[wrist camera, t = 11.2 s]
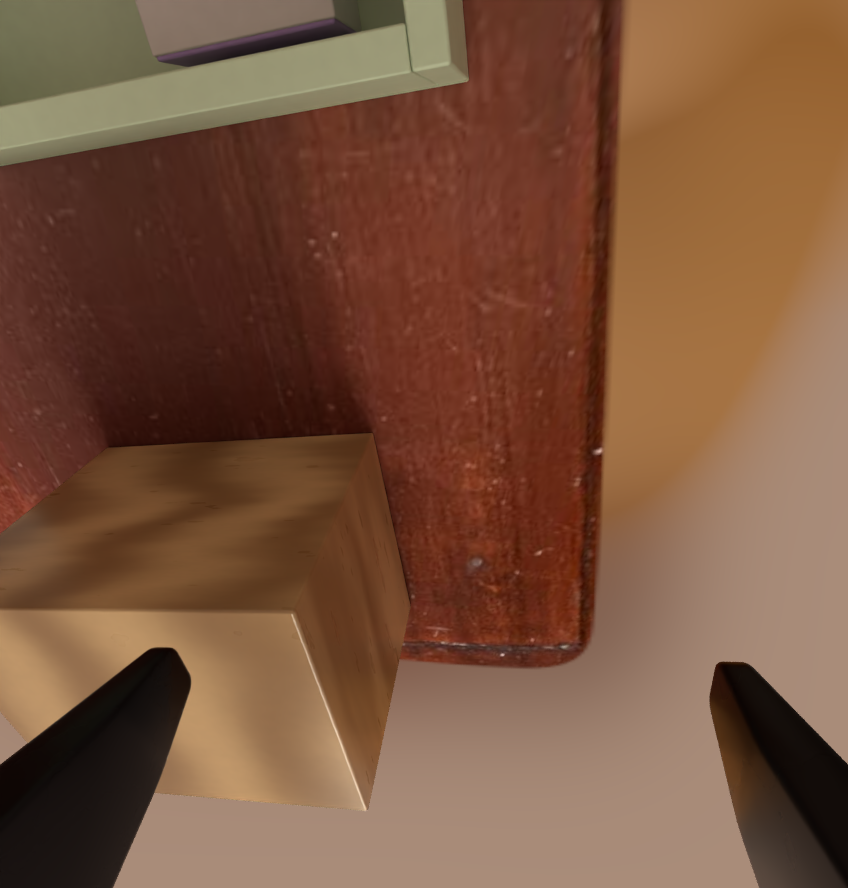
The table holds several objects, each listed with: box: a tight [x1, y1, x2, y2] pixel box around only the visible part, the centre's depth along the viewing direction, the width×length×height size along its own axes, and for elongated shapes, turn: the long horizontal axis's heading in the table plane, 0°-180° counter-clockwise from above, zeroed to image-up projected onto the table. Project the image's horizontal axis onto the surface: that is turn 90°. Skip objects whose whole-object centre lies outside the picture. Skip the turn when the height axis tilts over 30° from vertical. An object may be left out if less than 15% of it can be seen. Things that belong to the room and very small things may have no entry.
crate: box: [0, 433, 410, 811], centre depth 20 cm, size 12×10×9 cm
